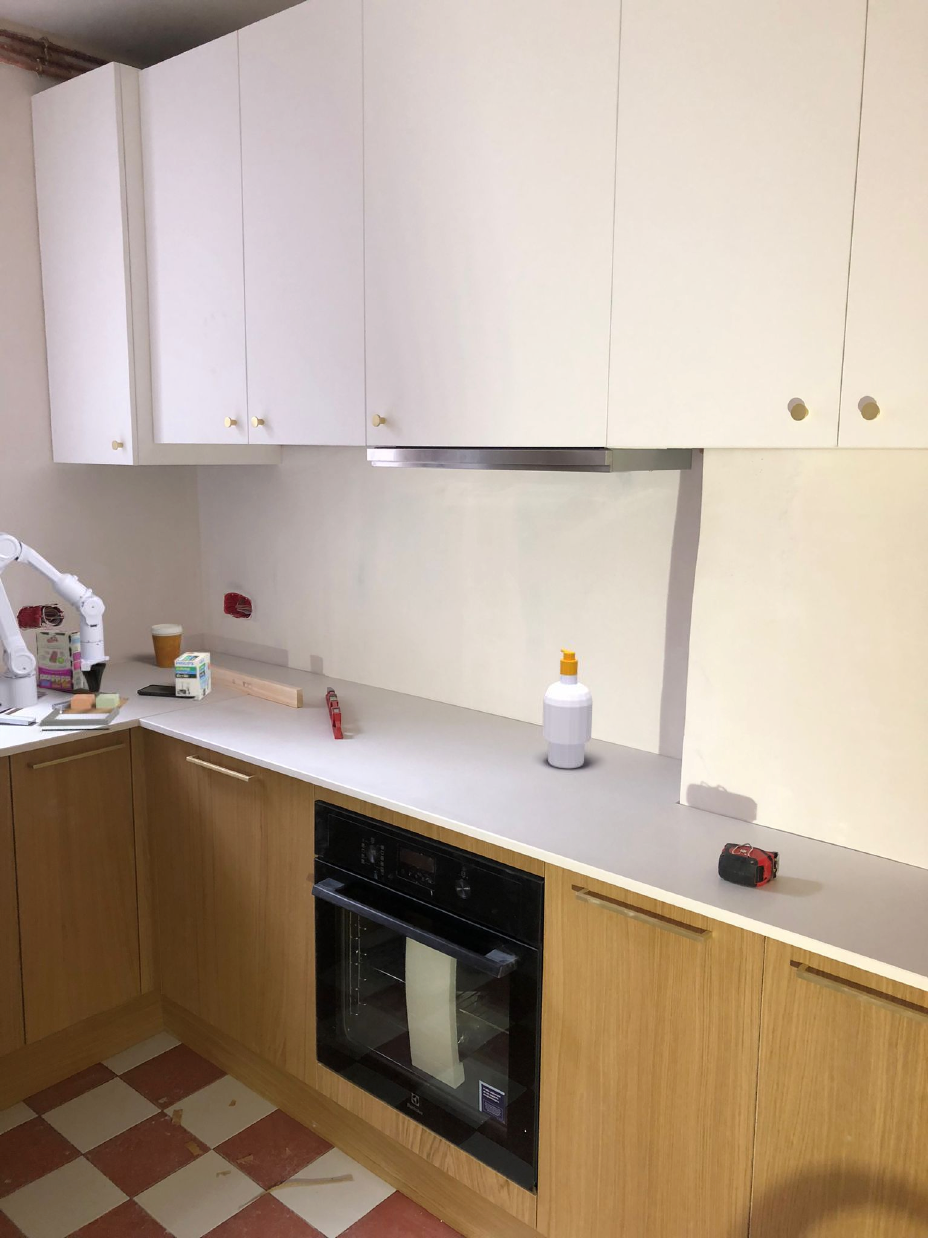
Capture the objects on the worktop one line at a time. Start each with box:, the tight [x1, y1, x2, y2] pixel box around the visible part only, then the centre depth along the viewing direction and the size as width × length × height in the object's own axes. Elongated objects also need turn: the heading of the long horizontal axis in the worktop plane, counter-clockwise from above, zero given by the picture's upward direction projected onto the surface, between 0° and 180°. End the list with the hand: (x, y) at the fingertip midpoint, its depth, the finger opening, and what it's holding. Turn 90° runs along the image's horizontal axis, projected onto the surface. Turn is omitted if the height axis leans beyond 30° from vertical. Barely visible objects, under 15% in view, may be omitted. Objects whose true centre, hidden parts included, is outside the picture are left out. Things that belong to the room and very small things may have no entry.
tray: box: [40, 708, 120, 732], centre depth 232 cm, size 15×10×2 cm
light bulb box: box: [174, 651, 212, 701], centre depth 260 cm, size 11×7×11 cm, turn 179°
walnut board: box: [60, 697, 130, 715], centre depth 245 cm, size 13×14×1 cm
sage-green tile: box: [95, 693, 120, 708], centre depth 245 cm, size 4×4×2 cm
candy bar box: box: [35, 628, 85, 691], centre depth 263 cm, size 11×5×16 cm, turn 73°
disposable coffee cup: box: [149, 623, 184, 669], centre depth 295 cm, size 10×10×12 cm
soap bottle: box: [542, 648, 593, 770], centre depth 206 cm, size 10×10×24 cm
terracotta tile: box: [70, 693, 96, 709], centre depth 244 cm, size 4×4×2 cm
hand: (94, 691), depth 255 cm, fingers closed
